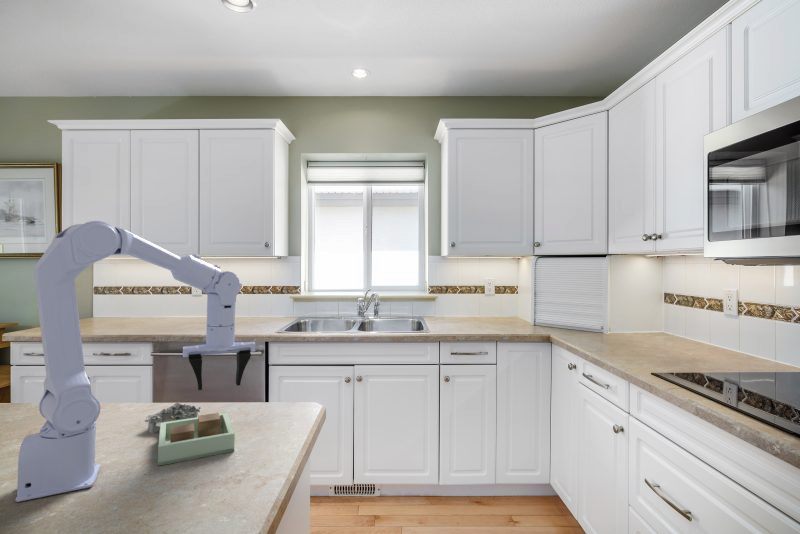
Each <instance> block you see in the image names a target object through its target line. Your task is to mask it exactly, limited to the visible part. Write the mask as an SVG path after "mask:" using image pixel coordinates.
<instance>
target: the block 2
mask: <svg viewBox="0 0 800 534" xmlns="http://www.w3.org/2000/svg"><path fill="white" fill-rule="evenodd" d="M219 414H220V413H219V412H214V413H209V414H208V413H207V414H201V415H197V417H198V438H201V437H207V436H212V435H218V434H220V416H219Z"/></svg>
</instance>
